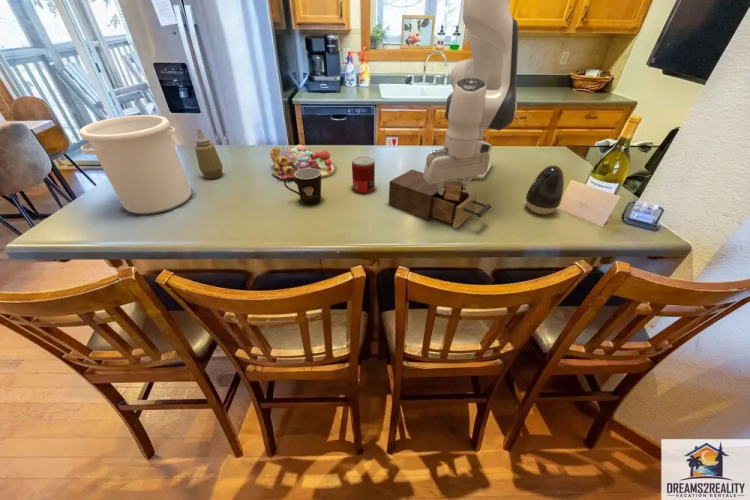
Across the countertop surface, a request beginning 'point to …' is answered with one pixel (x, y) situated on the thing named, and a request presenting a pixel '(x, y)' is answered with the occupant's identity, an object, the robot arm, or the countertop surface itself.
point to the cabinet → (412, 194)
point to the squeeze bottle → (207, 157)
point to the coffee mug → (307, 185)
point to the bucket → (139, 161)
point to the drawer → (456, 208)
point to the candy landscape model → (300, 161)
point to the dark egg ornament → (546, 191)
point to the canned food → (363, 174)
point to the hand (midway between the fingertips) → (452, 191)
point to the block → (453, 190)
